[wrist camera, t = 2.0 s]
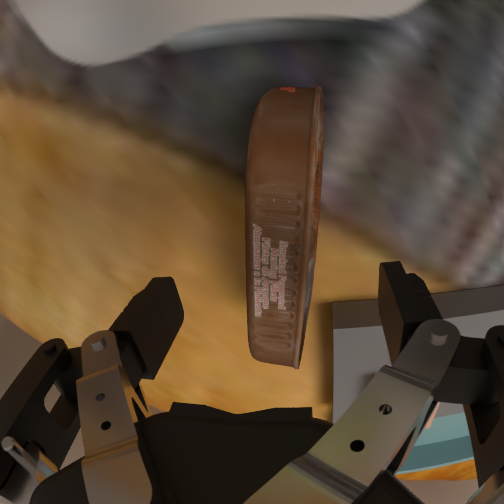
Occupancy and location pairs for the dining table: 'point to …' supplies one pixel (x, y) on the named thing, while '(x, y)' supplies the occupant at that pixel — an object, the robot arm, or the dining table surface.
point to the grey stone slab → (375, 347)
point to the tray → (440, 445)
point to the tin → (282, 220)
